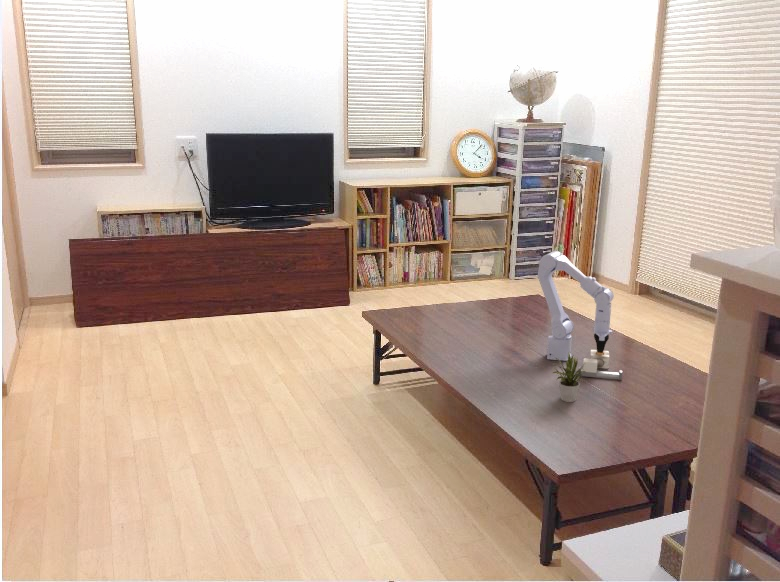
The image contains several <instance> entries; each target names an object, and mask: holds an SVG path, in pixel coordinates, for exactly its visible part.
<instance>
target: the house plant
mask: <svg viewBox="0 0 780 582" xmlns="http://www.w3.org/2000/svg"><path fill="white" fill-rule="evenodd" d="M570 354H571V353H570ZM570 354H569V352H568V361H565V366H566V368H565V367H564V364H563V362H562V360H559V359H557V358H556V357H555V358H556V359H557V360H556V361H559V363H560V364H561V365H558V364H555V363H551V364H552V365H553V366H555V367H558V368H559V369H560V370H561V371H559V370H558V369H557V368H554V367H553V369H554V370H555V371H553V372H552V374H556V375H559V376H558V377H557V378H556V380H559V381H558V382H559V391H560V393H559V394H560V399H561V401H564V402H566V403H573V402H575V401H577V398H578V393H579V390H580V389H579V388H580V385H581V384H580V381H581V380H582V381H583V382H585V380H584V379H583V378H582V379H581V378H580V377H579V376H578V375H579V374H580V373H582V372H586V371H581V372H579V371H580V370H581V369H582V370H583V366H584V365H585V364H584V365H583V364H582V366H581V368H580V369H579V368H578V369H577V366H578V361H579V360H578V357H576V356H574V355H571V356H570ZM552 357H553V356H552ZM576 369H577V370H576ZM578 372H579V373H578Z"/></svg>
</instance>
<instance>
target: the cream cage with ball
mask: <svg viewBox="0 0 780 582" xmlns="http://www.w3.org/2000/svg"><path fill="white" fill-rule="evenodd" d="M589 355H590V357H589V359H597V369H609V367H610V352H609V350H604V351H603V355H600V354H597V349H590V354H589Z"/></svg>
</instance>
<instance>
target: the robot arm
mask: <svg viewBox="0 0 780 582" xmlns="http://www.w3.org/2000/svg"><path fill="white" fill-rule="evenodd" d="M537 270H538V272H537V279H538V281H539V284H540V287H541V290H542V293H543V295H544V298H545V300H546V304H547V308H548V309H549V313H550V315H551V321H550V324H551V325H550V326H551V334H552V335H548V339H547V349H546V354H547V356H546V359H547V360H552V361H553V360H554V361H559V360H560V361H563V362H566V361H568V352H569V354H570V356H571V357H572V353H571V352H572V351H571V347H572V334H571V333H572V332H573V331H574V329H575V325H574V321H572V320H571V319H570V316H569V315H568V313H566V312H565V310H564V308H563V304H562V302H561V299H560V298H561V297H560V296H559V293H558V290H557V288H556V285H555V281H554V279H553V275H554V272H555V271H563V272H565V273H566V274H568V275H569V276H570V277H572V278H573V279H574V280H576V281H578V283H579V285H580V288H581V289H582V290H583V291H584V292H585V293H586V294H588V295H589V296H590V297H592V298H593V299H594V303H595V314H594V315H595V316H594V329H593V332H594V333H593V338H594V340H595V343H596V350H597V352H598V353H603V351H605V347H606V344H607V342H608V340H609V339H610V338H609V337H610V334H613V330H611V329H610V327H611V326H610V325H611V315H612V313H611V312H612V301H613V299H615V297H614V296H615V295H614V293H613V291H612V289H610V288H606V286H604V285H603V286H602V284H601V283H599V282H598V281H597V278H596V277H592V276H586V275H585V274H584V273H583V272H582V271H581V270H580V269H578V268H577V267H576V266H575V264H573V263H572V262H571V260H569V259H568V257H567V256H566V255H564V254H562V252H560V251H558V250H552V251H551V252H550V253H547V254H544V255H543V256H541V258H540V260H539V261H538V269H537ZM552 356H553V357H552ZM555 357H556V358H557V359H559V360H557V359H556V358H555Z"/></svg>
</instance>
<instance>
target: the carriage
mask: <svg viewBox="0 0 780 582" xmlns="http://www.w3.org/2000/svg"><path fill="white" fill-rule="evenodd" d="M584 364H585V365H584ZM583 365H584V366H583ZM582 366H583V367H582V370H583V371H586V372H583V376H582V377H584V376H588V377H587V378H596V374H597V371H598V368H597V359H590V358H585V357H584V358H583V363H582Z"/></svg>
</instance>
